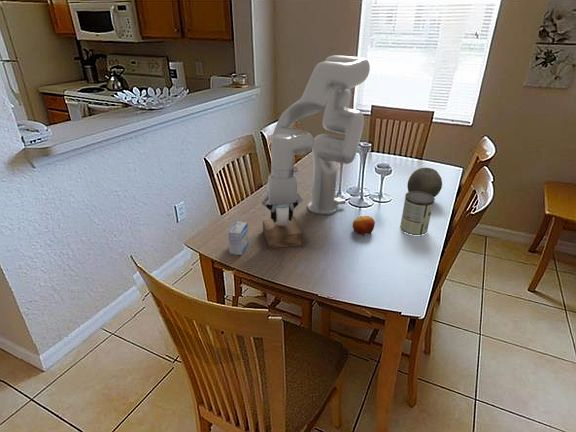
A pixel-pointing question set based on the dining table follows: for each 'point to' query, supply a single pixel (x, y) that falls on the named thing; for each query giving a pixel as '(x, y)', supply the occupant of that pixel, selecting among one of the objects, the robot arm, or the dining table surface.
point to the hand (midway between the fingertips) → (281, 219)
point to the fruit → (363, 225)
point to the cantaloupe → (425, 181)
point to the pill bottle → (282, 214)
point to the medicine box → (238, 238)
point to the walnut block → (282, 233)
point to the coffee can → (416, 212)
